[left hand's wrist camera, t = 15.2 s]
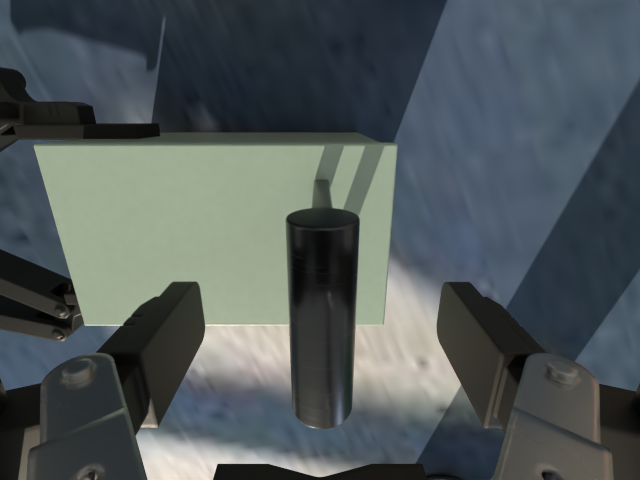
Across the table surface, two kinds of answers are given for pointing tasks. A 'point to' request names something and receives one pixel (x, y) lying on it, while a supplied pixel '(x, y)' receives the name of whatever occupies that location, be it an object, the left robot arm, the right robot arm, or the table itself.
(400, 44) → the table surface
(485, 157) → the table surface
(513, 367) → the left robot arm
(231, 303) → the lid
